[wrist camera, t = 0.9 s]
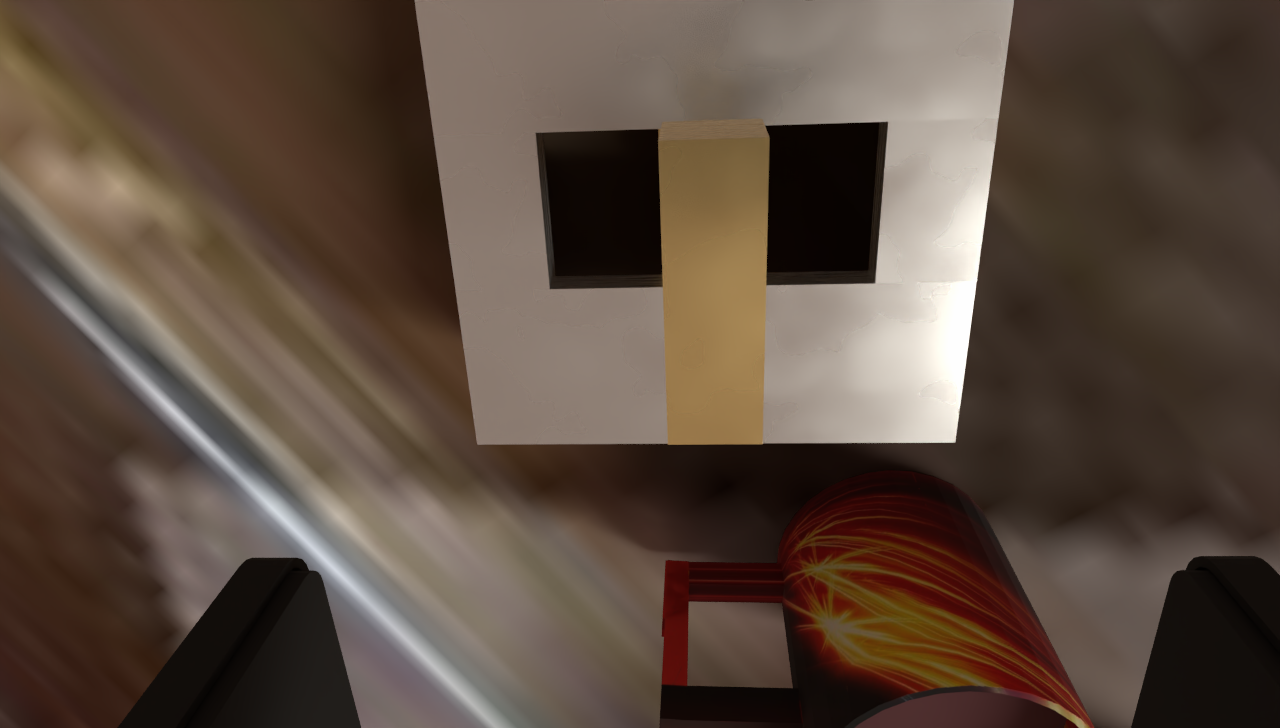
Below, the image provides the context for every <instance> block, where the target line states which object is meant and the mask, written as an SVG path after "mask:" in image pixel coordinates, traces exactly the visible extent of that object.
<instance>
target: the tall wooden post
mask: <svg viewBox="0 0 1280 728" xmlns="http://www.w3.org/2000/svg"><path fill="white" fill-rule="evenodd" d="M658 138H659V139H658V152H659V183H660V215H661V246H662V278H663V309H664V340H665V372H666V403H667V434H668V445H707V444H763V407H764V363H765V319H766V274H767V230H768V186H769V142H770V137H769V135H768V132H767V130H766V127H765V125H764V122H763V120H762V119H734V120H702V121H671V122H662V125H661V129H658Z"/></svg>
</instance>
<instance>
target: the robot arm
mask: <svg viewBox="0 0 1280 728" xmlns="http://www.w3.org/2000/svg"><path fill="white" fill-rule="evenodd" d="M118 728H361V725H360V721H359V718H358V714H357V710H356V706H355V702H354V698H353V695H352V691H351V687H350V683H349V679H348V675H347V672H346V668H345V664H344V660H343V656H342V652H341V649H340V645H339V641H338V637H337V633H336V629H335V625H334V622H333V618H332V614H331V610H330V606H329V602H328V599H327V595H326V591H325V587H324V583H323V580H322V577H321V575H320V574H319V573H318V572H317V571H309V569H308V567H307V564H306V563H305V562H304V561H303V560H302V559H299V558H250V559H248V560H246V561H245V562H244V563H243V564H242V565H240V567H239V568H238V569H237V571H236V572H235V573H234V575H233V576H232V577H231V578H230V580H229V581H228V582H227V584H226V585H225V586H224V588H223V589H222V590H221V592H220V593H219V594H218V596H217V597H216V598H215V600H214V601H213V602H212V604H211V605H210V606H209V608H208V609H207V610H206V612H205V613H204V614H203V616H202V617H201V618H200V619H199V621H198V622H197V623H196V625H195V626H194V627H193V629H192V630H191V631H190V633H189V634H188V635H187V637H186V638H185V639H184V641H183V642H182V643H181V645H180V646H179V647H178V649H177V650H176V651H175V653H174V654H173V655H172V656H171V658H170V659H169V660H168V662H167V663H166V664H165V666H164V667H163V668H162V670H161V671H160V672H159V674H158V675H157V676H156V678H155V679H154V680H153V682H152V683H151V684H150V686H149V687H148V688H147V690H146V691H145V692H144V693H143V695H142V696H141V697H140V699H139V700H138V701H137V703H136V704H135V705H134V707H133V708H132V709H131V711H130V712H129V713H128V715H127V716H126V717H125V719H124V720H123V721H122V723H121V724H120V725H119V727H118ZM1131 728H1280V575H1279V574H1278V573H1277V572H1276V571H1275V570H1274V569H1273V568H1272V567H1271V566H1270V565H1269V564H1268V563H1267V562H1265V561H1264V560H1263V559H1261V558H1258V557H1255V556H1200V557H1196V558H1193V559H1192V560H1191V561H1190V562H1189V564H1188V566H1187V568H1186V570H1181V571H1177V572H1176V573H1175V574H1174V575H1173V576H1172V578H1171V581H1170V584H1169V588H1168V592H1167V595H1166V599H1165V603H1164V607H1163V610H1162V614H1161V618H1160V622H1159V625H1158V629H1157V633H1156V637H1155V640H1154V644H1153V648H1152V651H1151V655H1150V659H1149V663H1148V666H1147V670H1146V674H1145V678H1144V681H1143V685H1142V689H1141V693H1140V696H1139V700H1138V704H1137V708H1136V711H1135V715H1134V719H1133V723H1132V726H1131Z"/></svg>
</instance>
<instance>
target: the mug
mask: <svg viewBox="0 0 1280 728" xmlns="http://www.w3.org/2000/svg"><path fill="white" fill-rule="evenodd" d="M689 601H698V602H759V603H782V606H783V614H784V622H785V630H786V637H787V645H788V653H789V661H790V668H791V676H792V684H793V688H754V687H711V686H687V666H688V603H689ZM662 637H664V650H663V670H662V689H661V709H660V728H1095V727H1094V726H1093V724H1092V722H1091V720H1090V718H1089V716H1088V714H1087V712H1086V710H1085V708H1084V706H1083V704H1082V702H1081V700H1080V698H1079V696H1078V694H1077V693H1076V691H1075V689H1074V687H1073V685H1072V683H1071V681H1070V679H1069V677H1068V675H1067V673H1066V671H1065V669H1064V667H1063V665H1062V663H1061V661H1060V660H1059V658H1058V656H1057V654H1056V652H1055V650H1054V648H1053V646H1052V644H1051V642H1050V640H1049V638H1048V636H1047V634H1046V632H1045V630H1044V628H1043V627H1042V625H1041V623H1040V621H1039V619H1038V617H1037V615H1036V613H1035V611H1034V609H1033V607H1032V605H1031V603H1030V601H1029V599H1028V597H1027V595H1026V594H1025V592H1024V590H1023V588H1022V586H1021V584H1020V582H1019V580H1018V578H1017V576H1016V574H1015V572H1014V570H1013V568H1012V566H1011V564H1010V562H1009V561H1008V559H1007V557H1006V555H1005V553H1004V551H1003V549H1002V547H1001V545H1000V543H999V541H998V539H997V537H996V535H995V533H994V531H993V529H992V528H991V526H990V524H989V522H988V520H987V518H986V517H985V515H984V513H983V511H982V510H981V508H980V507H979V506H978V505H977V504H976V503H975V502H974V501H973V500H972V499H971V498H970V497H969V496H968V495H967V494H965V493H964V492H963V491H961V490H960V489H958V488H957V487H955V486H954V485H952V484H950V483H948V482H945V481H943V480H941V479H938V478H936V477H934V476H929V475H925V474H921V473H916V472H910V471H892V470H889V471H880V472H871V473H865V474H862V475H858V476H855V477H851V478H847V479H845V480H843V481H840V482H838V483H836V484H834V485H832V486H830V487H827V488H826V489H824V490H823V491H821V492H820V493H818V494H817V495H816V496H814V497H813V498H811V499H810V500H809V501H808V502H807V503H806V504H805V505H804V506H803V507H802V508H801V509H800V510H799V511H798V512H797V513H796V514H795V515H794V517H793V518H792V520H791V521H790V523H789V524H788V526H787V528H786V529H785V531H784V534H783V537H782V539H781V542H780V545H779V550H778V558H777V563H727V562H688V561H672V560H668V561H666V566H665V584H664V602H663V621H662Z"/></svg>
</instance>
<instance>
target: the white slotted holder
mask: <svg viewBox="0 0 1280 728" xmlns="http://www.w3.org/2000/svg"><path fill="white" fill-rule="evenodd" d="M1013 4H1014V0H415V7H416V14H417V22H418V29H419V36H420V43H421V50H422V57H423V64H424V71H425V78H426V85H427V92H428V99H429V106H430V113H431V121H432V128H433V135H434V142H435V149H436V156H437V163H438V170H439V177H440V184H441V191H442V198H443V205H444V213H445V220H446V227H447V234H448V241H449V248H450V255H451V262H452V269H453V276H454V283H455V290H456V297H457V304H458V312H459V319H460V326H461V333H462V340H463V347H464V354H465V361H466V368H467V375H468V382H469V389H470V396H471V404H472V411H473V418H474V425H475V432H476V439H477V445H483V444H668V434H667V403H666V372H665V340H664V309H663V278H662V274H659V275H606V276H555V264H554V253H553V242H552V230H551V219H550V207H549V196H548V185H547V173H546V162H545V151H544V139H543V132H575V131H607V130H639V129H661V125H662V122H671V121H702V120H734V119H762V120H763V122H764V125H765V126H767V125H799V124H831V123H863V122H879V135H878V148H877V161H876V174H875V188H874V201H873V214H872V227H871V240H870V254H869V267H868V271H818V272H767V274H766V319H765V363H764V407H763V443H955V440H956V432H957V425H958V417H959V410H960V402H961V395H962V387H963V380H964V372H965V365H966V357H967V350H968V342H969V335H970V327H971V320H972V312H973V305H974V297H975V290H976V282H977V275H978V267H979V260H980V252H981V245H982V237H983V230H984V222H985V215H986V207H987V200H988V192H989V185H990V177H991V170H992V162H993V154H994V147H995V139H996V132H997V124H998V117H999V109H1000V102H1001V94H1002V87H1003V79H1004V72H1005V64H1006V57H1007V49H1008V42H1009V34H1010V27H1011V19H1012V12H1013Z"/></svg>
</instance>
